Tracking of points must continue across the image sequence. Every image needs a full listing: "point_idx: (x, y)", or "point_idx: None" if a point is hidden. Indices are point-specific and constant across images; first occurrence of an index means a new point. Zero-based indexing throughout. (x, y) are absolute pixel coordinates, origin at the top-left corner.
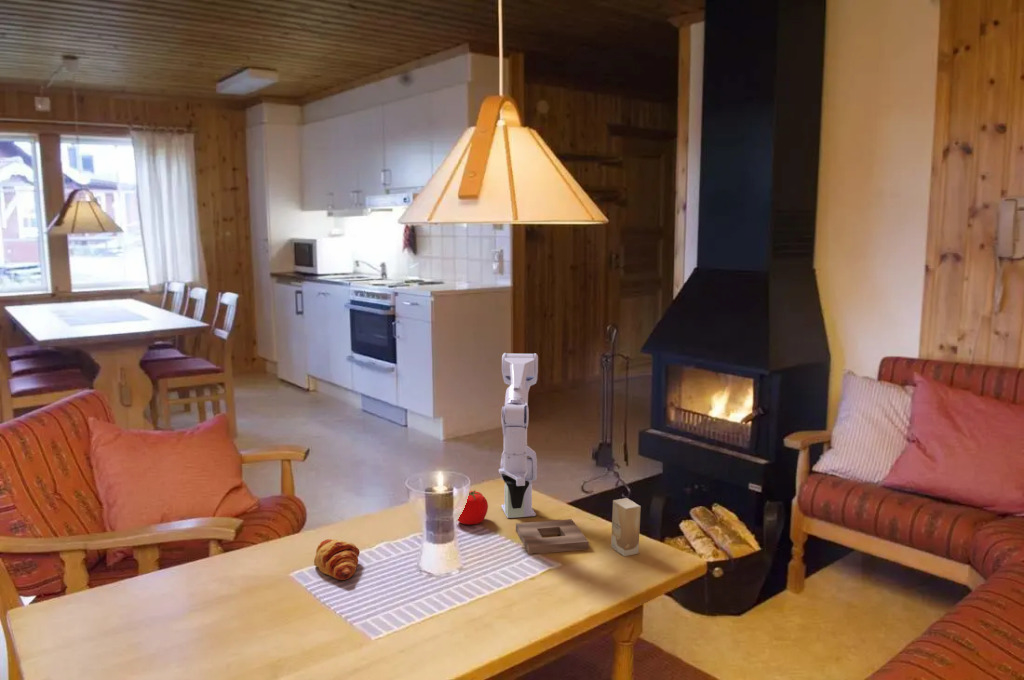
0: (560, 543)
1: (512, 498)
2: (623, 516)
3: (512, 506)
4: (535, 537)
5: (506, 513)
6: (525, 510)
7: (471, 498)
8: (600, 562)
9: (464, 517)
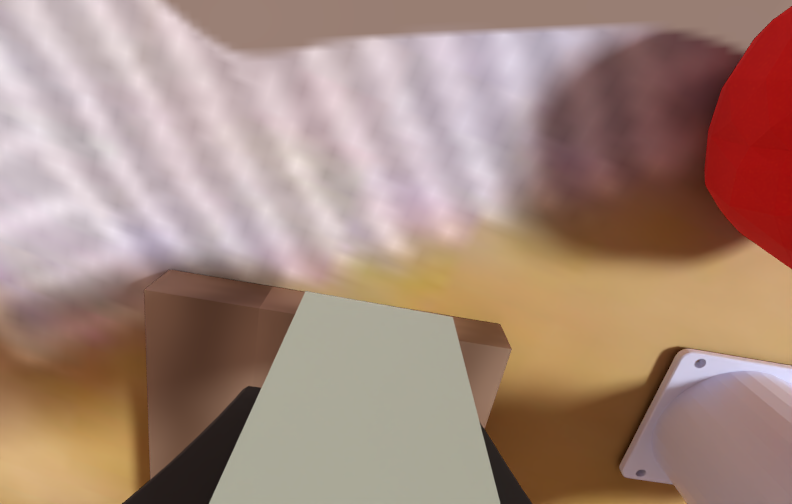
0: (153, 442)
1: (155, 489)
2: None
3: (238, 397)
4: (266, 368)
5: (381, 311)
6: (666, 456)
7: None
8: (31, 496)
9: (777, 24)
